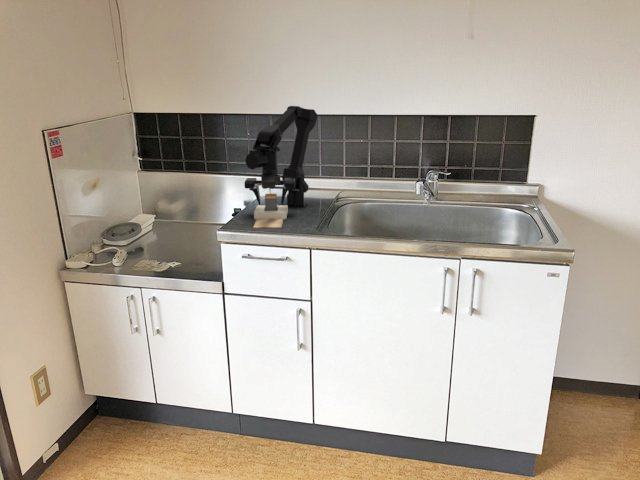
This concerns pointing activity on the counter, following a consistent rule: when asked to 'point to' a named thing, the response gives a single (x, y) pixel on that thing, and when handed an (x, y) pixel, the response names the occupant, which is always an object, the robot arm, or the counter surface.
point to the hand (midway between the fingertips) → (271, 205)
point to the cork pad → (268, 223)
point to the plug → (270, 202)
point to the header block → (271, 212)
